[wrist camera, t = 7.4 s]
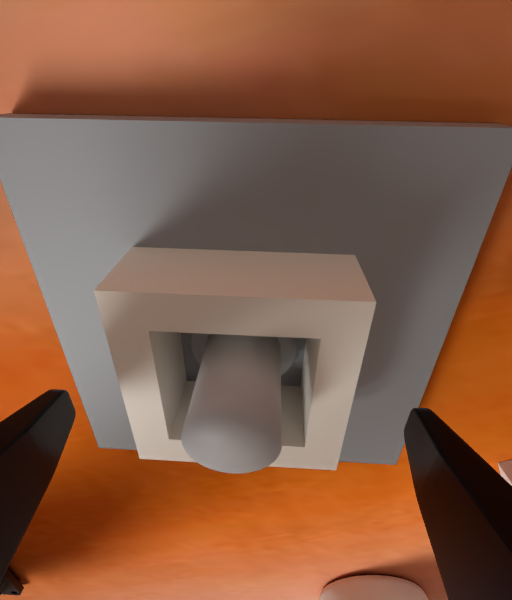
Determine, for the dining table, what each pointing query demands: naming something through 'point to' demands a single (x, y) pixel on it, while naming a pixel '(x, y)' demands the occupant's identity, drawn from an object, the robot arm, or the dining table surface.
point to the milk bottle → (372, 589)
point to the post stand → (257, 237)
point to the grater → (506, 470)
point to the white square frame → (237, 321)
